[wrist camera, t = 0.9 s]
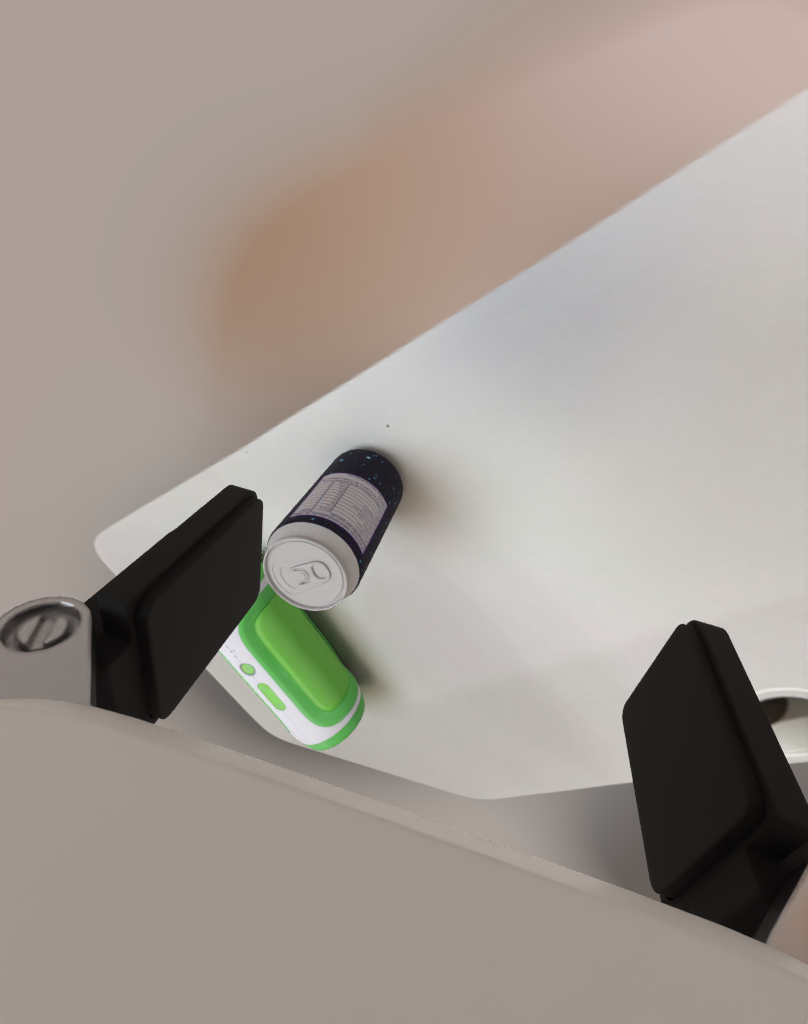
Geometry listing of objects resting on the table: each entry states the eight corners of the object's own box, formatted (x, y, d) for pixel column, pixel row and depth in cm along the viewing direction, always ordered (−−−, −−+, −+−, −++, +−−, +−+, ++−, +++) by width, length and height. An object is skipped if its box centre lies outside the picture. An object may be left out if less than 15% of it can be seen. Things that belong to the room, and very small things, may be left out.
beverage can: (320, 457, 37) (237, 545, 27) (386, 434, 34) (324, 521, 24) (352, 520, 39) (287, 623, 29) (417, 502, 37) (371, 607, 27)
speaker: (216, 565, 45) (163, 621, 39) (273, 540, 42) (226, 596, 35) (321, 695, 51) (291, 761, 44) (378, 681, 48) (354, 751, 41)
